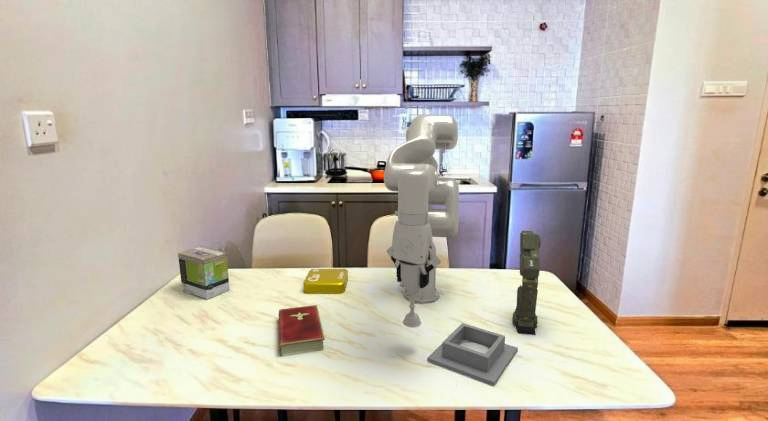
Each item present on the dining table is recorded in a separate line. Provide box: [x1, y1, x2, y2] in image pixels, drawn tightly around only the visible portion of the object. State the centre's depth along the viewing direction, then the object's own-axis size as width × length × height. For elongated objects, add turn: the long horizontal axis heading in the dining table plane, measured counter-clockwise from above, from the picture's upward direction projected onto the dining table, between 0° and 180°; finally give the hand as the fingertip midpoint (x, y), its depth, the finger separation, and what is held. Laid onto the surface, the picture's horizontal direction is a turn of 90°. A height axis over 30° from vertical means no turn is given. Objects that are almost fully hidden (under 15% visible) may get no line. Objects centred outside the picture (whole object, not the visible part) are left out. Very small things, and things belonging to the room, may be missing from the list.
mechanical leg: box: [512, 230, 542, 336], centre depth 125 cm, size 14×7×30 cm, turn 168°
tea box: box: [177, 246, 230, 300], centre depth 151 cm, size 15×10×15 cm, turn 58°
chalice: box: [399, 260, 426, 328], centre depth 110 cm, size 7×7×18 cm
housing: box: [426, 322, 519, 387], centre depth 110 cm, size 18×18×5 cm
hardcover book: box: [278, 304, 325, 357], centre depth 122 cm, size 12×21×4 cm, turn 15°
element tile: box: [303, 268, 349, 295], centre depth 156 cm, size 15×15×5 cm
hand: (412, 282), depth 110 cm, fingers closed on chalice, 6 cm apart
